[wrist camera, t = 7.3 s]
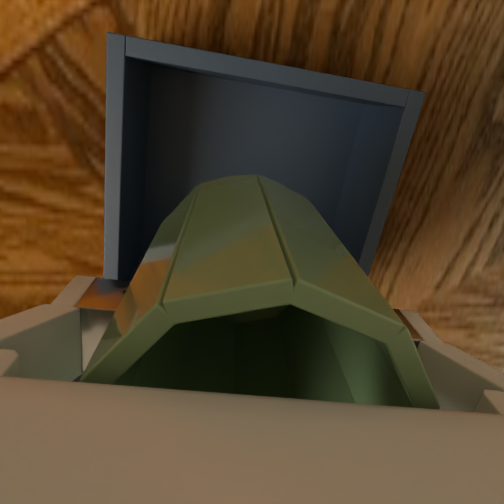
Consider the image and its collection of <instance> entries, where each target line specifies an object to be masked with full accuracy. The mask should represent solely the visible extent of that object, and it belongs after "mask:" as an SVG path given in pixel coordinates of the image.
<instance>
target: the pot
mask: <svg viewBox="0 0 504 504" xmlns="http://www.w3.org/2000/svg"><path fill="white" fill-rule="evenodd" d="M80 382H85V383H98V384H111V385H124V386H138V387H151V388H164V389H177V390H190V391H203V392H216V393H229V394H242V395H255V396H268V397H281V398H294V399H307V400H320V401H333V402H346V403H360V404H373V405H386V406H399V407H412V408H425V409H438V410H439V409H440V404H439V401H438V399H437V397H436V394H435V392H434V389H433V387H432V385H431V382H430V380H429V377H428V375H427V373H426V370H425V368H424V365H423V363H422V360H421V358H420V356H419V353H418V351H417V348H416V346H415V344H414V341H413V339H412V336H411V334H410V332H409V329H408V328H407V327H406V325H405V324H404V323H403V321H402V320H401V319H400V318H399V316H398V315H397V314H396V312H395V311H394V310H393V309H392V307H391V306H390V305H389V303H388V302H387V301H386V299H385V298H384V297H383V296H382V294H381V293H380V292H379V290H378V289H377V288H376V286H375V285H374V284H373V283H372V281H371V280H370V279H369V277H368V276H367V275H366V273H365V272H364V271H363V270H362V268H361V267H360V266H359V264H358V263H357V262H356V260H355V259H354V258H353V257H352V255H351V254H350V253H349V251H348V250H347V249H346V247H345V246H344V245H343V244H342V242H341V241H340V240H339V238H338V237H337V236H336V234H335V233H334V232H333V231H332V229H331V228H330V227H329V225H328V224H327V223H326V221H325V220H324V219H323V218H322V216H321V215H320V214H319V212H318V211H317V210H316V208H315V207H314V206H313V205H312V203H311V202H310V201H309V200H308V199H307V198H306V197H304V196H302V195H300V194H298V193H296V192H294V191H292V190H290V189H289V188H287V187H286V186H284V185H282V184H280V183H278V182H276V181H273V180H270V179H268V178H266V177H264V176H262V175H260V174H258V176H256V174H250V175H236V176H228V177H223V178H219V179H216V180H213V181H210V182H204V183H201V184H200V186H199V185H197V186H196V187H195V188H194V189H193V190H192V191H191V192H190V193H189V194H188V195H187V196H186V197H185V198H184V199H183V201H182V202H181V203H180V204H179V205H178V206H177V207H176V208H175V209H174V210H173V211H172V212H171V213H170V215H169V216H168V217H167V218H166V219H165V220H164V221H163V222H162V223H161V225H160V227H159V229H158V231H157V233H156V235H155V237H154V239H153V241H152V243H151V244H150V246H149V248H148V250H147V252H146V254H145V256H144V258H143V260H142V262H141V264H140V265H139V267H138V269H137V271H136V273H135V275H134V277H133V279H132V281H131V283H130V285H129V286H128V288H127V290H126V292H125V294H124V296H123V298H122V300H121V302H120V304H119V306H118V307H117V309H116V311H115V313H114V315H113V317H112V319H111V321H110V323H109V325H108V327H107V328H106V330H105V332H104V334H103V336H102V338H101V340H100V342H99V344H98V346H97V348H96V349H95V351H94V353H93V355H92V357H91V359H90V361H89V363H88V365H87V367H86V369H85V370H84V372H83V374H82V376H81V378H80Z"/></svg>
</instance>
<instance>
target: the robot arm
mask: <svg viewBox="0 0 504 504" xmlns="http://www.w3.org/2000/svg"><path fill="white" fill-rule="evenodd" d="M130 283H131V281H124V280H115V279H107V278H99V277H98V278H97V277H94V276H81V275H76V276H75V277H74V278H73V279H72V280H71V281H70V282H69V283H68V285H67V286H66V287H65V288H64V289H63V290H62V292H61V293H60V294H59V295H58V296H57V297H56V298H55V300H54V301H53V302H52V303H51V304H42V305H40V306H37V307H34V308H31V309H28V310H26V311H23V312H20V313H17V314H14V315H12V316H9V317H6V318H3V319H0V504H504V373H503V372H501V371H499V370H497V369H495V368H493V367H492V366H490V365H488V364H486V363H484V362H482V361H480V360H479V359H477V358H475V357H473V356H471V355H469V354H467V353H466V352H464V351H462V350H460V349H458V348H456V347H454V346H453V345H451V344H449V343H443V342H442V341H441V339H440V338H439V337H438V336H437V335H436V334H435V333H434V331H433V330H432V329H431V328H430V327H429V326H428V325H427V323H426V322H425V321H424V320H423V319H422V318H421V317H420V315H419V314H418V313H417V312H415V311H412V310H399V309H393V310H394V311H395V312H396V314H397V315H398V316H399V318H400V319H401V320H402V321H403V323H404V324H405V325H406V327H407V328H408V329H409V332H410V334H411V336H412V339H413V341H414V344H415V346H416V348H417V351H418V353H419V356H420V358H421V360H422V363H423V365H424V368H425V370H426V373H427V375H428V377H429V380H430V382H431V385H432V387H433V389H434V392H435V394H436V397H437V399H438V401H439V404H440V409H439V410H438V409H425V408H412V407H399V406H386V405H373V404H360V403H346V402H333V401H320V400H307V399H294V398H281V397H268V396H255V395H242V394H229V393H216V392H203V391H190V390H177V389H164V388H151V387H138V386H124V385H111V384H98V383H85V382H72V381H73V380H74V379H76V378H77V377H78V376H80V375H81V374H82V372H84V370H85V369H86V367H87V365H88V363H89V361H90V359H91V357H92V355H93V353H94V351H95V349H96V348H97V346H98V344H99V342H100V340H101V338H102V336H103V334H104V332H105V330H106V328H107V327H108V325H109V323H110V321H111V319H112V317H113V315H114V313H115V311H116V309H117V307H118V306H119V304H120V302H121V300H122V298H123V296H124V294H125V292H126V290H127V288H128V286H129V285H130Z"/></svg>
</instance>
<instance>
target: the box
mask: <svg viewBox="0 0 504 504" xmlns="http://www.w3.org/2000/svg"><path fill="white" fill-rule="evenodd" d="M425 95H426V93H425V92H421V91H416V90H409V89H406V88H400V87H395V86H390V85H385V84H379V83H374V82H369V81H364V80H358V79H353V78H348V77H343V76H337V75H332V74H327V73H322V72H316V71H311V70H306V69H301V68H295V67H290V66H285V65H280V64H274V63H269V62H264V61H259V60H253V59H248V58H243V57H238V56H232V55H227V54H222V53H217V52H211V51H206V50H201V49H196V48H191V47H185V46H180V45H175V44H170V43H164V42H159V41H154V40H149V39H143V38H138V37H133V36H128V35H127V36H126V35H122V34H117V33H112V32H107V55H106V128H105V201H104V273H103V278H107V279H115V280H124V281H132V279H133V277H134V275H135V273H136V271H137V269H138V267H139V265H140V264H141V262H142V260H143V258H144V256H145V254H146V252H147V250H148V248H149V246H150V244H151V243H152V241H153V239H154V237H155V235H156V233H157V231H158V229H159V227H160V225H161V223H162V222H163V221H164V220H165V219H166V218H167V217H168V216H169V215H170V213H171V212H172V211H173V210H174V209H175V208H176V207H177V206H178V205H179V204H180V203H181V202H182V201H183V199H184V198H185V197H186V196H187V195H188V194H189V193H190V192H191V191H192V190H193V189H194V188H195V187H196V186H197V185H199V186H200V184H201V183H204V182H210V181H213V180H216V179H219V178H223V177H228V176H236V175H250V174H256V176H258V174H260V175H262V176H264V177H266V178H268V179H270V180H273V181H276V182H278V183H280V184H282V185H284V186H286V187H287V188H289V189H290V190H292V191H294V192H296V193H298V194H300V195H302V196H304V197H306V198H307V199H308V200H309V201H310V202H311V203H312V205H313V206H314V207H315V208H316V210H317V211H318V212H319V214H320V215H321V216H322V218H323V219H324V220H325V221H326V223H327V224H328V225H329V227H330V228H331V229H332V231H333V232H334V233H335V234H336V236H337V237H338V238H339V240H340V241H341V242H342V244H343V245H344V246H345V247H346V249H347V250H348V251H349V253H350V254H351V255H352V257H353V258H354V259H355V260H356V262H357V263H358V264H359V266H360V267H361V268H362V270H363V271H364V272H365V273H366V275H367V276H368V275H369V272H370V269H371V265H372V262H373V259H374V256H375V253H376V250H377V246H378V243H379V240H380V237H381V234H382V231H383V227H384V224H385V221H386V218H387V215H388V212H389V209H390V205H391V202H392V199H393V196H394V193H395V190H396V186H397V183H398V180H399V177H400V174H401V171H402V167H403V164H404V161H405V158H406V155H407V152H408V148H409V145H410V142H411V139H412V136H413V133H414V130H415V126H416V123H417V120H418V117H419V114H420V111H421V107H422V104H423V101H424V98H425Z"/></svg>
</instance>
